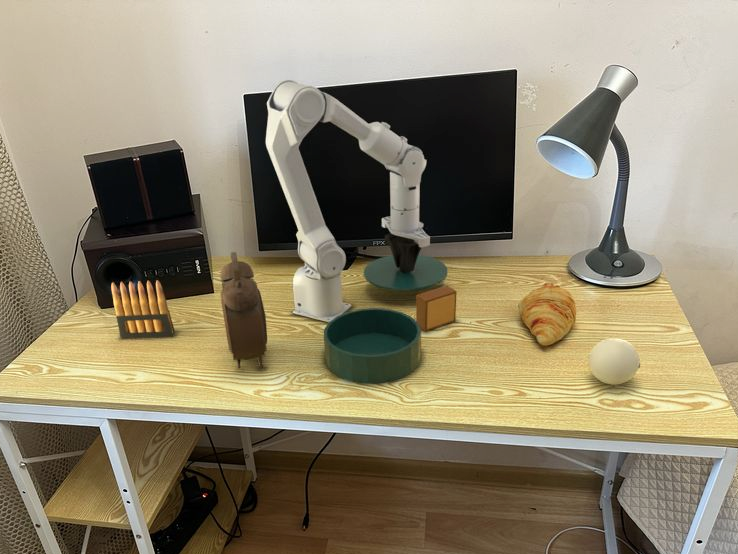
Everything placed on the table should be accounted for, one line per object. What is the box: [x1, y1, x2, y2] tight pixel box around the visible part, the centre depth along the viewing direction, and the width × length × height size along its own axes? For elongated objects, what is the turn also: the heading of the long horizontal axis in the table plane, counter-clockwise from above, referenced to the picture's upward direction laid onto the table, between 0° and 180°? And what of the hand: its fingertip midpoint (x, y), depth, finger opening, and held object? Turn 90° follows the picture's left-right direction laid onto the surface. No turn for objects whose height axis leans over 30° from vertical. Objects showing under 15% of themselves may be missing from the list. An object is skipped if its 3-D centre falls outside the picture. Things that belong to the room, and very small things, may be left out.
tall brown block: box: [415, 285, 458, 332], centre depth 121 cm, size 3×7×6 cm, turn 116°
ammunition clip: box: [111, 279, 176, 340], centre depth 124 cm, size 11×2×12 cm, turn 86°
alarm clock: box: [219, 251, 268, 370], centre depth 112 cm, size 14×7×20 cm, turn 9°
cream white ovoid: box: [588, 337, 641, 386], centre depth 102 cm, size 10×7×7 cm
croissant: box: [517, 282, 577, 346], centre depth 118 cm, size 21×10×8 cm, turn 162°
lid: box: [363, 254, 448, 292], centre depth 133 cm, size 17×17×4 cm
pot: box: [323, 307, 422, 384], centre depth 113 cm, size 17×17×5 cm
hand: (404, 268), depth 134 cm, fingers closed on lid, 2 cm apart
